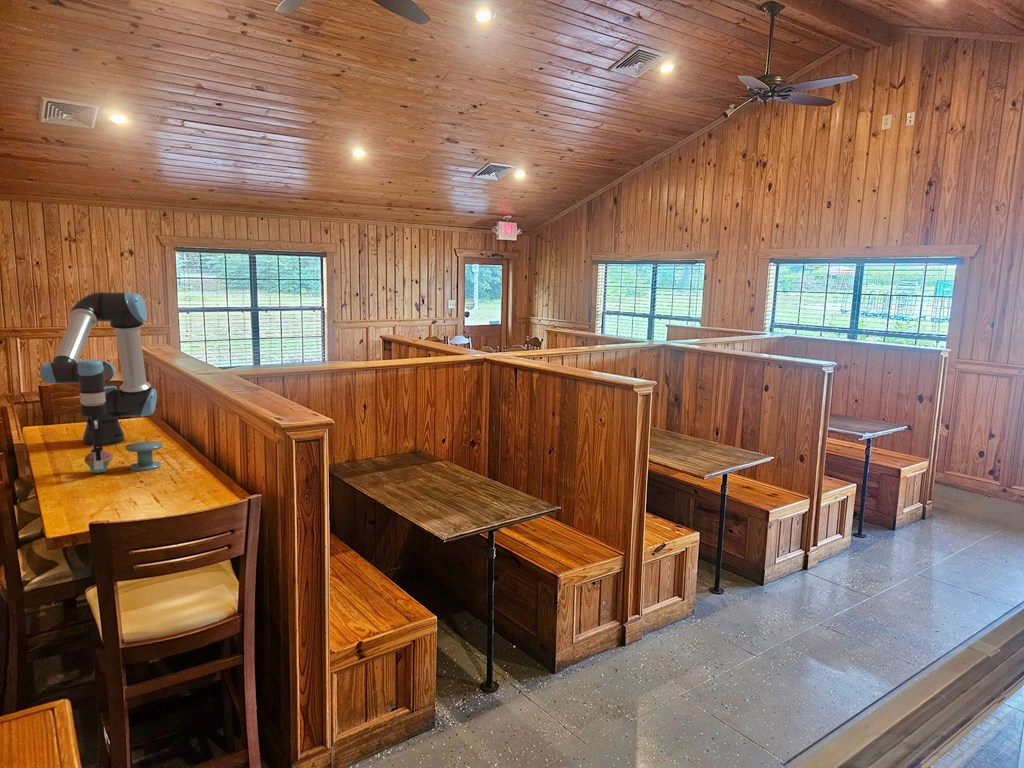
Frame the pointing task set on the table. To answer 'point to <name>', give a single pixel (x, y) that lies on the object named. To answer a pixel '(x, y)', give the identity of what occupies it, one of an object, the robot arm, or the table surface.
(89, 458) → the cupcake
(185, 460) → the table surface
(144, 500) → the table surface
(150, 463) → the cake stand
